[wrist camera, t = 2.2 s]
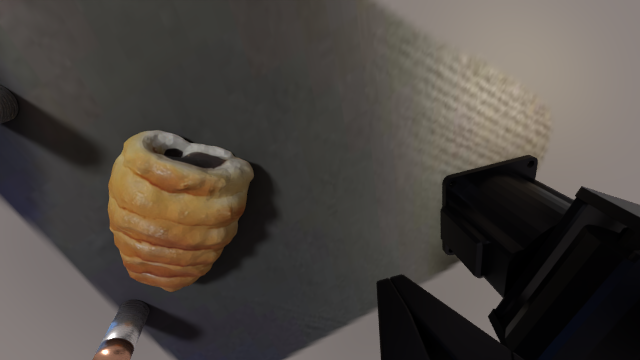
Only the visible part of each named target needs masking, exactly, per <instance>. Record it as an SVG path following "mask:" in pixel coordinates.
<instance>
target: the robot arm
mask: <svg viewBox="0 0 640 360" xmlns="http://www.w3.org/2000/svg"><path fill="white" fill-rule="evenodd" d="M537 164H538V160H537V158H535V157H533V156H531V155H526V156H522V157H518V158H514V159H510V160H506V161H502V162H499V163H495V164H491V165H487V166H483V167H479V168H475V169H471V170H467V171H463V172H460V173H456V174H452V175H449V176H447V177H445V178H444V180H443V183H442V208H441V239H442V247H443V251H444V252H445V253H446V254H447V255H454V254H455V255H456V256H457V257H458V258H459V259H460V260H461V261H462V263H463V264H464V265H465V266H466V267H467V268H468V269H469V270H470V272H471V273H472V274H473V275H474V276H476V277H477V278H482V277H484V278H485V279H486V280H487V281H488V282H489V283H490V284H491V285H492V286H493V288H494V289H495V290H496V291H497V292H498V293H499V294H500V295H501V296H502V297H503V299H502V301H501V302H500V304H499V305H498V306H497V308H496V309H493V310H492V312H491V313H490V314H489V316H488V318H489V320H490V322H491V324H492V326H493V328H494V330H495V332H496V334H497V336H498V338H499V340H500V342H498V341H497V340H495V339H494V338H492V337H491V336H489V335H488V334H487V333H485V332H484V331H483V330H481V329H480V328H478V327H477V326H475V325H474V324H473V323H471V322H470V321H468V320H467V319H466V318H464V317H463V316H461V315H460V314H458V313H457V312H456V311H454V310H452V309H451V308H450V307H448V306H447V305H446V304H444V303H443V302H441V301H440V300H439V299H437V298H435V297H434V296H433V295H431V294H430V293H429V292H427V291H426V290H424V289H423V288H422V287H420V286H419V285H417V284H416V283H414V282H413V281H412V280H410V279H409V278H407V277H406V276H404V275H402V274H401V275H397V276H393V277H391V278H390V279H389V278H386V279H383V280H379V281H377V300H378V317H379V334H380V350H381V360H640V205H638V204H635V203H632V202H629V201H626V200H623V199H620V198H617V197H614V196H610V195H607V194H604V193H601V192H598V191H595V190H592V189H589V188H585V187H582V186H581V188H580V189H579V191H578V192H577V193H576V195H575V196H576V199H575V200H573V199H571V198H569V197H567V196H565V195H563V194H561V193H559V192H558V191H556V190H554V189H552V188H550V187H548V186H546V185H544V184H542V183H540V182H539V181H537V180H535V177H536V170H537ZM452 181H453V183H452V184H451V185H449V184H450V183H451V182H452Z"/></svg>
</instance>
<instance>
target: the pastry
mask: <svg viewBox="0 0 640 360" xmlns="http://www.w3.org/2000/svg"><path fill="white" fill-rule="evenodd" d="M111 175H112V176H111V178H110V181H109V197H110V199H109V204H108V213H109V218H110V229H111V231H112V232H113V234H114V241H115V245H116V246H117V247H118V248H119V250H120V254H121V256H122V259H123V264H124V266H125V267H126V268H127V270H128V272H129V275H130V276H131V277H132V278H133V279H135V280H137V281H139V282H142V283H145V284H149V285H152V286H158V287H162V288H163V289H165V290H166V291H169V292H174V291H176V290H179V289H181V288H182V287H185V286H189V285H191V284H192V283H194V282H195V281H196V280H197V279H198V278H199V277H200V276H203V275H205V274H206V273H207V272H208V271H209V270H210V269H211V267H212V265H213V263H214V262H215V261H216V260H217V259H218V258H219V256H220V255H221V253H222V250H223V248H224V246H225V245H227V244H228V243H230V242H231V240H232V239H233V237H234V236H235V235H236V233H237V229H238V220H239V218H240V217H241V215H242V214H243V212H244V210H245V206H246V201H247V191H248V187H249V184H250V182H251V180H252V179H253V177H254V173H253V169H252V167H251V165H250V164H249V163H248V162H247V161H245V160H242V159H241V158H236V157H235V156H234V155H233V153H231V152H230V151H227V150H225V149H222V148H220V147H217V146H208V145H204V144H196V143H189V142H188V141H186V140H184V139H183V138H182V137H180V136H178V135H175V134H172V133H167V132H163V131H160V130H155V131H145V132H141V133H139V134H137V135H134V136H132V137H131V138H129V139H128V140H127V141H126V142H125V143H124V149H123V151H122V153H121V155H120V156H119V157H118V158H117V159H116V161H115V163H114V165H113V169H112V172H111Z"/></svg>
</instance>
